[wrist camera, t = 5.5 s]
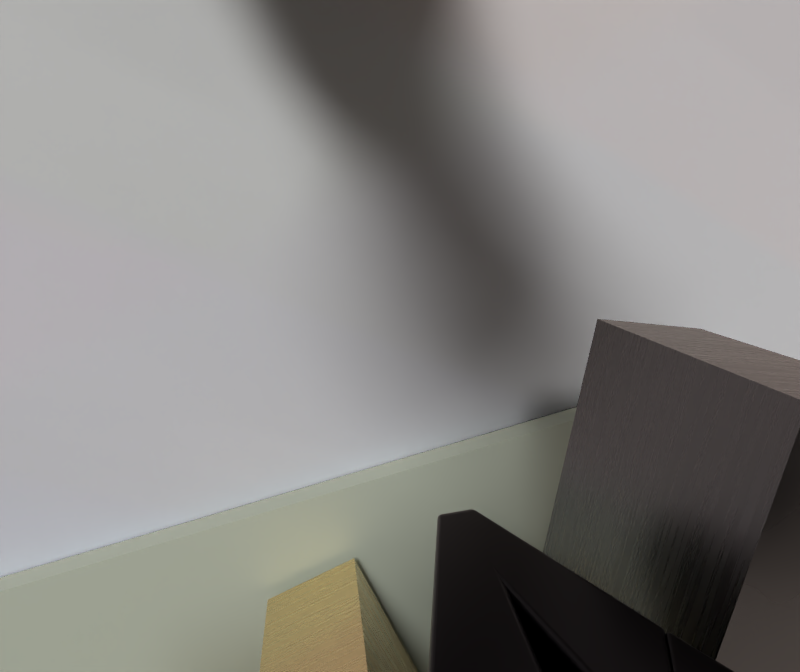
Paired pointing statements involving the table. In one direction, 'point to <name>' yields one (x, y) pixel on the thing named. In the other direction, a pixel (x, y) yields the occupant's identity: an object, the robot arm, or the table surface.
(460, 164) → the table surface
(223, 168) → the table surface
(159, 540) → the base plate
